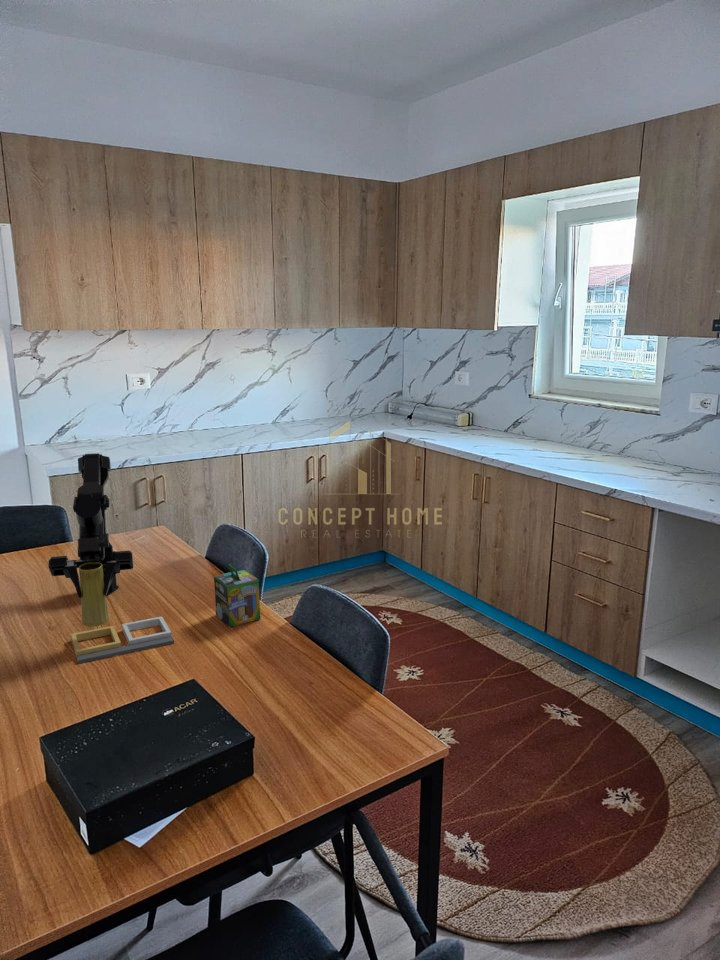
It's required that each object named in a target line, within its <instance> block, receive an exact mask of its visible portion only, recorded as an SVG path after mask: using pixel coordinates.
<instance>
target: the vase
mask: <svg viewBox="0 0 720 960" xmlns="http://www.w3.org/2000/svg"><path fill="white" fill-rule="evenodd" d="M78 575H79V582H80V590H81V598H80V602H81V605H80V607H81V616H82V617H81V623H82V625H83V626H85V627H89V628H92V627H93V628H94V627H100V626H102V625H105V624H106V623H108V622H109V621H110V617H109V611H108V603H107V598H106V596H105V595H104V577H103V566H102V564H101V563H99V562H89V563H85V564H82V565H80V566H79V568H78Z"/></svg>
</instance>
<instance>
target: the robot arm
mask: <svg viewBox="0 0 720 960" xmlns="http://www.w3.org/2000/svg"><path fill="white" fill-rule="evenodd" d="M77 467H78V469H77V470H78V473H79V474H81V478H82V481H83V482H82V485H81V486H80V487H78V488H77V492H76V496H74V498H73V505H72V509H73V513H75V515H76V521H77V523H78V525H79V529H78V530H79V534H78V536H79V538H78V539H77V557H78V558H79V559H69V558H68V555H60V556H51V557H50V558H49V559H48V569H49V572H50V574H51V576H52V577H58V576H60V577H61V576H65V579H70V580H71V582H72V583H73V586H74V588H75V591H76V593H77V596H78V599H81V590H80V574H79V571H78V569H79V566H80V565H82V564H85V563H89V562H99V563H101V564H102V566H103V577H104V595H105V596H109V595H110V594H112V593H113V592H114V591H116V590H118V589H119V588H120V587H119V585H118V584H117V576H116V575H118V574H121V571H126V570H128V571H129V570H133V569H134V557H133V552H132V551H131V550H119V551H118V550H117V551H114V548H113V547H114V546H113V545H112V543H111V542H110V535H109V533H107V524H106V523H107V522H106V521H107V520H106V511H108V508H110V503H111V501H110V498H109V496H108V495H107V494H105V489H104V487H105V485H106V484H107V482H108V481H109V477H110V476H109V473H110V472H112V468H111V467H112V466H111V458H110V457H109V456H106V455H103V454H101V453H99V452H98V453H85V454H82V455H81V457H78V458H77Z"/></svg>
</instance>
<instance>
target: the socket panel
mask: <svg viewBox="0 0 720 960" xmlns="http://www.w3.org/2000/svg"><path fill="white" fill-rule="evenodd" d="M156 626H159V627H160V628H161V631H162V632H161V631H160V632H157V633H153V634H147V635H142V636H137V637H133V635H132V633H131V631H132V632H133V631H136V630H140V629H146V628H151V627H152V628H153V627H156ZM121 629H122V633H123V635H124V638H125V640H126V642H127V644H126V645H122V642H121V639H120V638H119V635H118V633H117V630H116V628H115V625H109V626H104V627H99V628H95V629H89V630H85V631H79V632H75V633H70V637H71V643H72V648H73V652H74V655H75V658H76V661H77V664H83V663H88V662H92V661H97V660H102V659H107V658H111V657H116V656H120V655H125V654H130V653H135V652H139V651H143V650H148V649H153V648H159V647H162V646H167V645H172V644H175V639H174V637H173V635H172V631H171V629H170V627H169V626H168V624H167V622H166V621H165V619H164V617H163V616H157V617H152V618H147V619H141V620H136V621H130V622H126V623H122V624H121ZM104 636H105V637H106V636H111V639H112V642H107V643H104V644H103V643H102V644H99V645H98V644H97V645H93V646H88V647H83V648H80V644H79V642H80V641H81V642H82V641H86V640H91V639H96V638H100V637H104Z"/></svg>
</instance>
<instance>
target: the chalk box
mask: <svg viewBox="0 0 720 960" xmlns="http://www.w3.org/2000/svg"><path fill="white" fill-rule="evenodd" d="M228 568H229V571H230V572H226V573H225V572H224V573H222V574H218V575H214V577H213V581H214V582H213V583H214V598H215V599H214V601H215V616H217V618H218V619H219V620H221V622H222V623H224V624H225V625H226V626H227V628H229V627H230V628H232V627H237V626H240V625H244V624H247V623H250V622H253V621H258V620H261V606H260V605H261V603H260V601H261V600H260V580H259V578H257V577H256V576H255V575H253V574H252V573H250V572H248V571H247V570H245V569H242V570H237V568H236V567H234V566H233V565H231V564H230V563H228Z"/></svg>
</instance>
